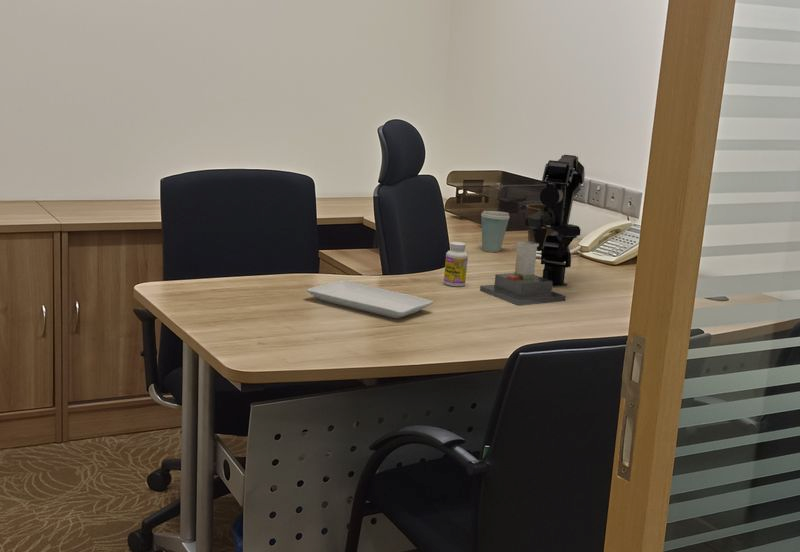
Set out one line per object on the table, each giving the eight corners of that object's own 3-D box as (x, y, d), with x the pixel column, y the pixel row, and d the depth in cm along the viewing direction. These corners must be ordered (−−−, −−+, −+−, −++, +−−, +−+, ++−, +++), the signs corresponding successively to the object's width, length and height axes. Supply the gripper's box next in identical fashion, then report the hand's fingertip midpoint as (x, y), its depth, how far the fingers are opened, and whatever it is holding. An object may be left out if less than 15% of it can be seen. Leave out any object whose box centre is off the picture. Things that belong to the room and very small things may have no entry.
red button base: (526, 287, 288) (528, 267, 287) (565, 301, 273) (567, 280, 272) (479, 290, 279) (481, 270, 277) (517, 305, 264) (520, 284, 263)
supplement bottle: (439, 284, 283) (443, 243, 280) (448, 280, 289) (452, 240, 286) (459, 288, 280) (463, 246, 277) (468, 284, 286) (472, 243, 283)
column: (527, 276, 278) (530, 241, 276) (536, 279, 275) (540, 243, 272) (511, 277, 275) (515, 241, 273) (520, 280, 272) (524, 244, 269)
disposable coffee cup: (472, 248, 348) (476, 208, 344) (497, 247, 352) (500, 208, 349) (486, 253, 338) (490, 213, 335) (511, 253, 343) (515, 213, 340)
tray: (399, 324, 236) (400, 311, 235) (303, 300, 252) (304, 288, 252) (434, 313, 250) (435, 300, 249) (341, 291, 266) (341, 279, 266)
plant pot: (518, 248, 353) (523, 207, 350) (525, 242, 368) (529, 202, 365) (561, 254, 349) (566, 211, 345) (566, 247, 364) (571, 206, 360)
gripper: (513, 198, 280) (508, 249, 284) (556, 208, 265) (550, 262, 269) (541, 198, 286) (536, 247, 290) (584, 207, 271) (578, 260, 275)
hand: (549, 254), depth 281 cm, fingers open, 9 cm apart
